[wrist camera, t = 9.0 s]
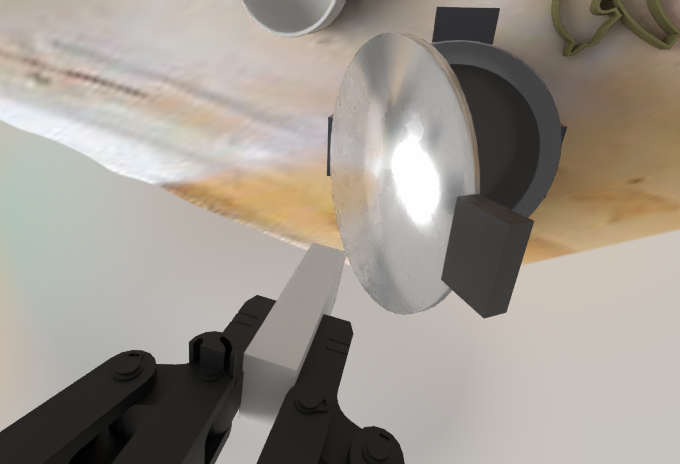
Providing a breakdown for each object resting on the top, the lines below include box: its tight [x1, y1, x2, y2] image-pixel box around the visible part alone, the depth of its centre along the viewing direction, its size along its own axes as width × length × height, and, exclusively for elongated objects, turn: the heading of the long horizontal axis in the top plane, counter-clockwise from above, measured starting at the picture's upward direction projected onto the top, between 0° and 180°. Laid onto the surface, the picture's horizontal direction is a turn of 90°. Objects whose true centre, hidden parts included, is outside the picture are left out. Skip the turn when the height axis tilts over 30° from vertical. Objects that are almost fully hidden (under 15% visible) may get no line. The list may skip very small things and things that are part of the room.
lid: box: [330, 33, 534, 318], centre depth 26 cm, size 20×23×2 cm
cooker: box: [327, 7, 567, 218], centre depth 39 cm, size 25×22×11 cm
